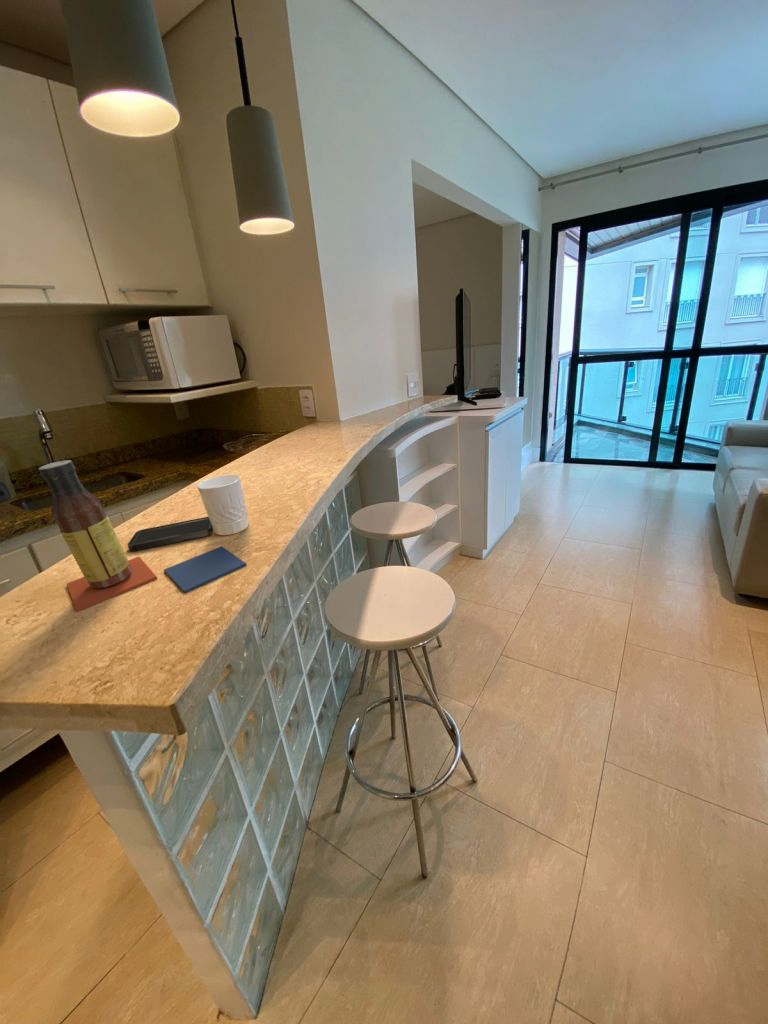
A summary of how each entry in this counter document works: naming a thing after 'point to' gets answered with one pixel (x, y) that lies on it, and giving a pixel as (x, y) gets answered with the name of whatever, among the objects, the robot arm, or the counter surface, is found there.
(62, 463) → the sauce bottle
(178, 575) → the slate-blue mat
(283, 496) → the counter surface
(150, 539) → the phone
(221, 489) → the white cup
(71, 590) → the terracotta mat
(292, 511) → the counter surface
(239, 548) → the counter surface
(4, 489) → the robot arm
